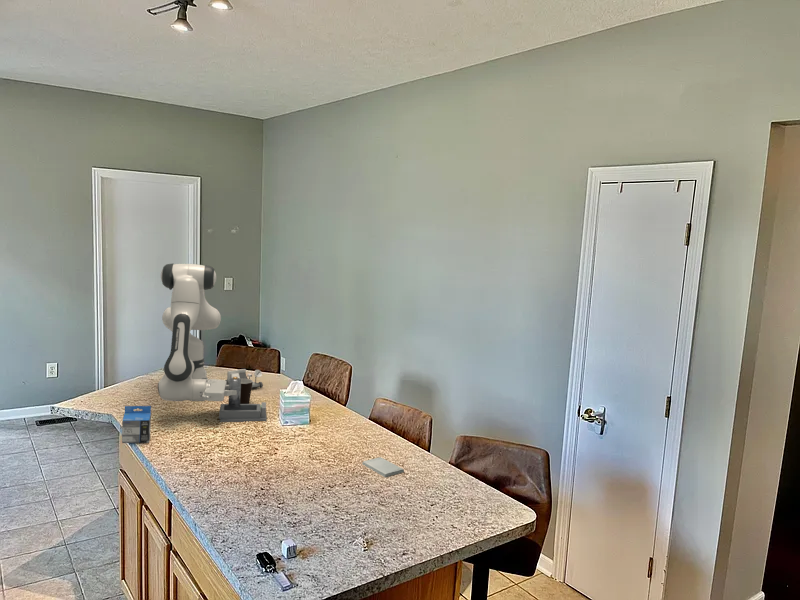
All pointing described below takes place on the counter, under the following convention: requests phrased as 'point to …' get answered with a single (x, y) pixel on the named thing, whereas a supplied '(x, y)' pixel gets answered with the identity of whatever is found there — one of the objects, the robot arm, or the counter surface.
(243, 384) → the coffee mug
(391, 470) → the hard drive
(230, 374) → the toy lunar rover
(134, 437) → the label tape cartridge
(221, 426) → the counter surface
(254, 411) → the cradle
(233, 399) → the cell
